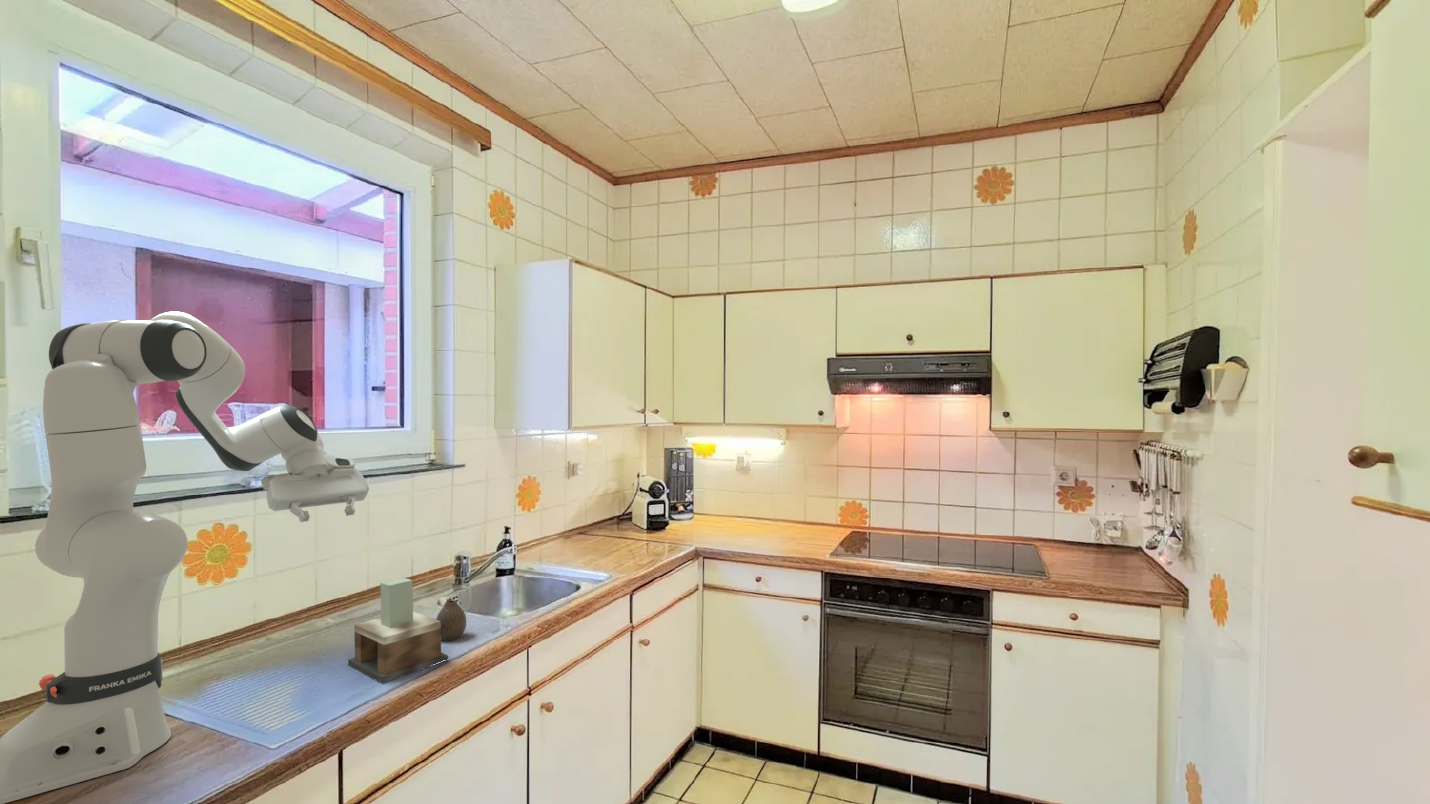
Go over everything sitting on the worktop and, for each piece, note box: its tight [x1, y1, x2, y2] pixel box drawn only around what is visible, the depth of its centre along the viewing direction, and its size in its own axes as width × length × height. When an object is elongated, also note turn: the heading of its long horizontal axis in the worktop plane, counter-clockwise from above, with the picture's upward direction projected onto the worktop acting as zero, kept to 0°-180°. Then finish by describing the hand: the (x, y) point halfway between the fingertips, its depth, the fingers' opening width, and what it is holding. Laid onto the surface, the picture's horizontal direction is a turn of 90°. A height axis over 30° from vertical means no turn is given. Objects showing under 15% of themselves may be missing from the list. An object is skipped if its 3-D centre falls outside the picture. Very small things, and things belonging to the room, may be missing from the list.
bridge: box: [347, 610, 449, 684], centre depth 137 cm, size 14×16×9 cm
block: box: [380, 577, 414, 628], centre depth 137 cm, size 5×4×9 cm
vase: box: [435, 599, 467, 642], centre depth 152 cm, size 7×7×9 cm
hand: (328, 516), depth 143 cm, fingers open, 8 cm apart
